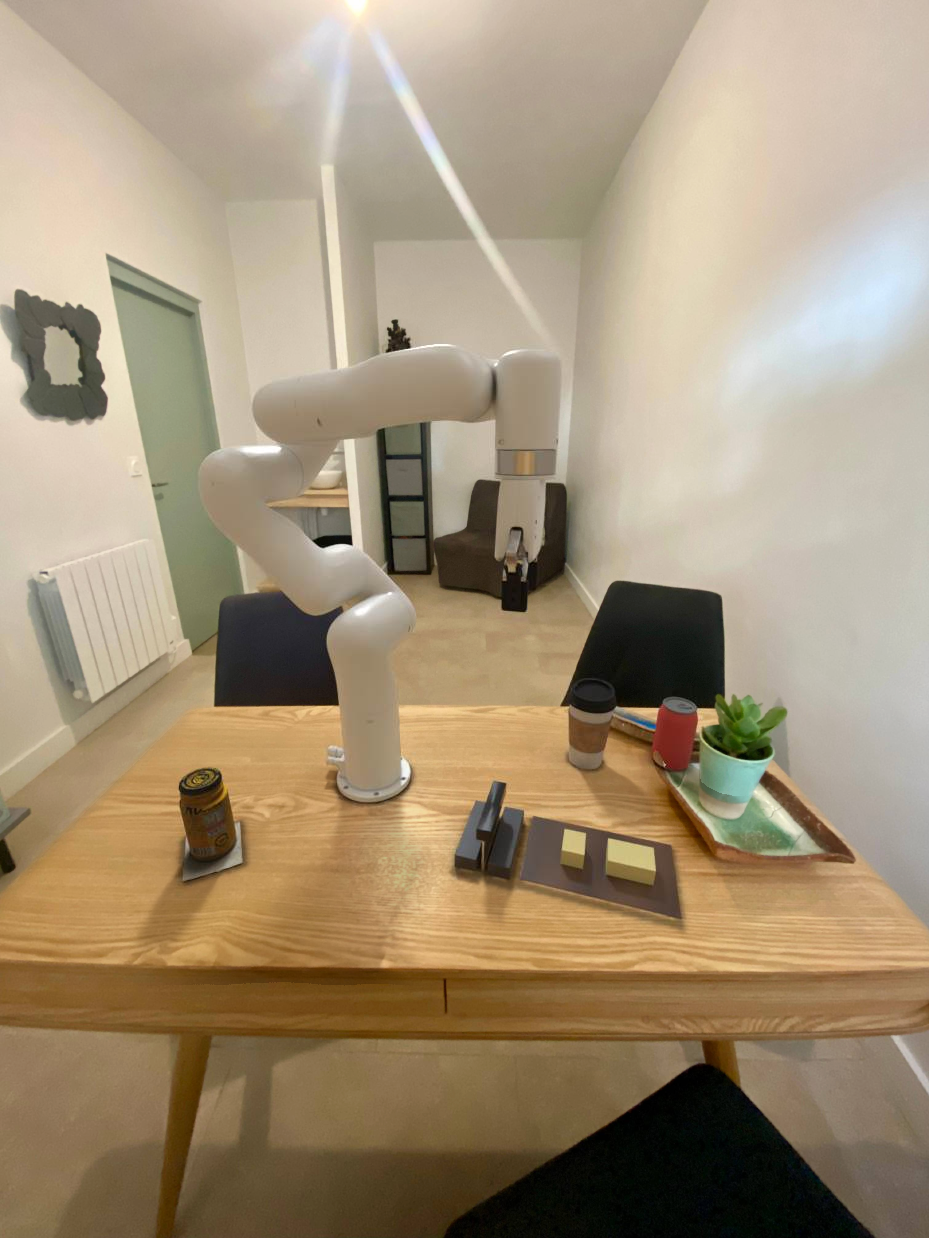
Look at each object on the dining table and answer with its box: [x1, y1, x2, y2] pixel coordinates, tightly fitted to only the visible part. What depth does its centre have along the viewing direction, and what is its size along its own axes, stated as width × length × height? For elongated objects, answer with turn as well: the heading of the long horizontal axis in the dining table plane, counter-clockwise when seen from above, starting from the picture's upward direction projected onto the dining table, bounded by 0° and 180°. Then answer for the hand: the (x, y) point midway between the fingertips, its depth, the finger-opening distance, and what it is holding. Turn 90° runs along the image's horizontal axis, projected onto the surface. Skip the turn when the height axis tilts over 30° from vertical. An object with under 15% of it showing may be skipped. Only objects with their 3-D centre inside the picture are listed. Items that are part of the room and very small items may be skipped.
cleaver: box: [476, 780, 507, 871], centre depth 68 cm, size 2×10×8 cm, turn 164°
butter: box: [606, 838, 656, 885], centre depth 65 cm, size 6×4×2 cm, turn 74°
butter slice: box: [560, 829, 586, 869], centre depth 67 cm, size 3×4×2 cm
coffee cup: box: [567, 677, 617, 771], centre depth 87 cm, size 8×8×15 cm
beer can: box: [650, 696, 699, 772], centre depth 87 cm, size 7×7×12 cm
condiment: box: [178, 767, 243, 882], centre depth 67 cm, size 7×8×12 cm
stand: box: [454, 800, 525, 881], centre depth 69 cm, size 8×11×3 cm
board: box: [519, 815, 682, 920], centre depth 67 cm, size 20×12×1 cm, turn 74°
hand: (520, 599), depth 65 cm, fingers open, 9 cm apart
